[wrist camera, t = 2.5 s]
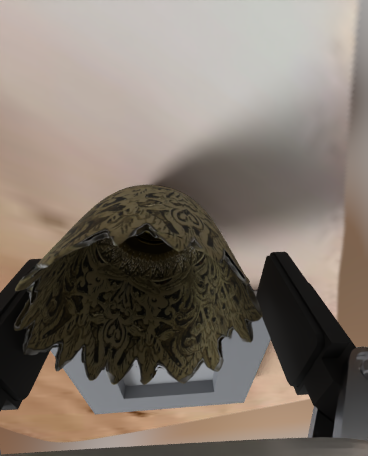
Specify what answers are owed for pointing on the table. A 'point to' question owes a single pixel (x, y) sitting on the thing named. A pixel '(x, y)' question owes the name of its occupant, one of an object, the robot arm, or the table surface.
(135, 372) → the display stand
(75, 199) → the table surface
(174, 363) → the cup
